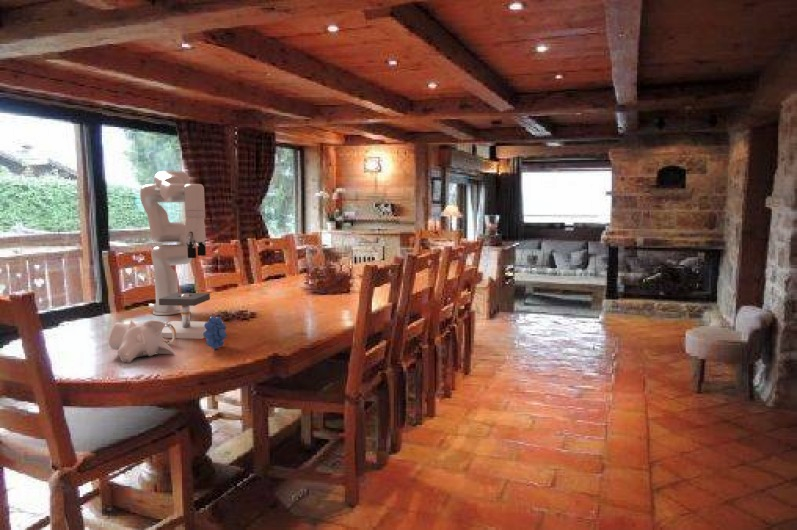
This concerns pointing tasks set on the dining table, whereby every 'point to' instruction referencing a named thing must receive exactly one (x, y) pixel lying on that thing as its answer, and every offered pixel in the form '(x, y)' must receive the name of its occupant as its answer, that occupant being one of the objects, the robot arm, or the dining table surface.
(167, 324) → the ring
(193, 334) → the stand plate
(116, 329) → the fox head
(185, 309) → the glossy pinkish cylinder
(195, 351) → the dining table surface
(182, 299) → the square hole plate
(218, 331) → the grapes
